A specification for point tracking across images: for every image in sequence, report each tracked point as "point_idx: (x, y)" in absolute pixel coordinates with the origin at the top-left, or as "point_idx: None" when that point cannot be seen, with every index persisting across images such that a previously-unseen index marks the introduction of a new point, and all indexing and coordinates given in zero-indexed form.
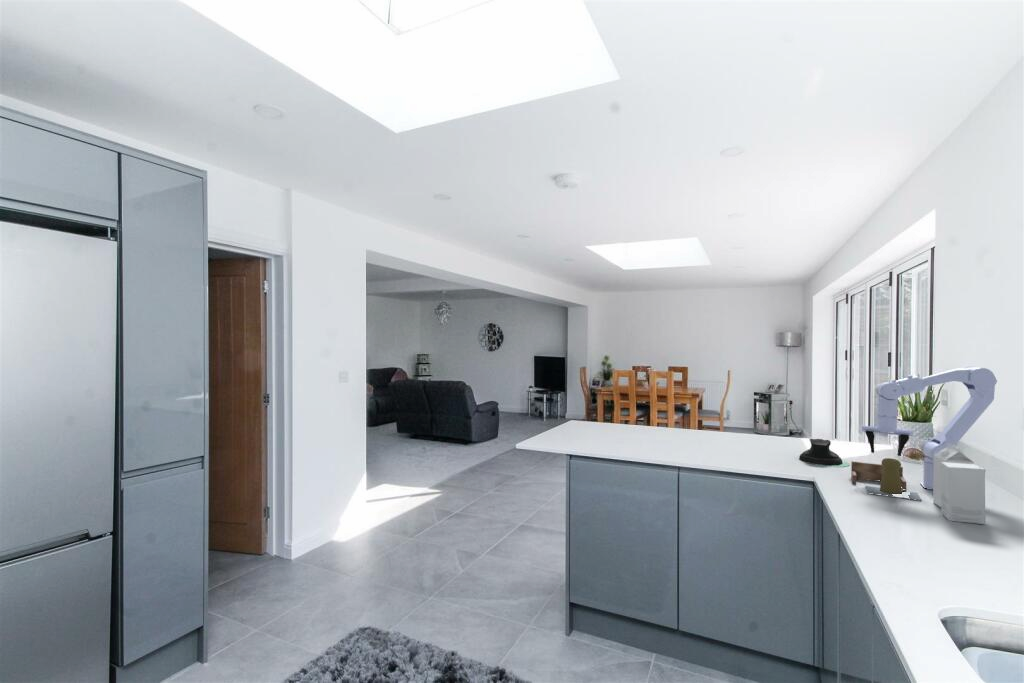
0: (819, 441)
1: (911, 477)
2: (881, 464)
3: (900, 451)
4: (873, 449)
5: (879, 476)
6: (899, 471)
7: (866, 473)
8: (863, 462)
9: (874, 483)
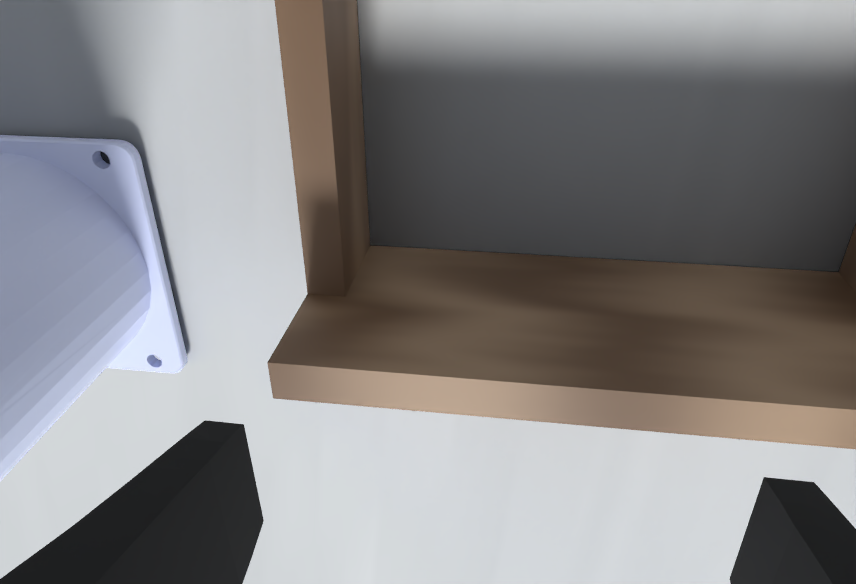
0: None
1: (262, 534)
2: (540, 420)
3: (143, 491)
4: (823, 548)
5: (566, 285)
6: (327, 326)
7: (724, 304)
8: (803, 442)
9: (652, 109)
